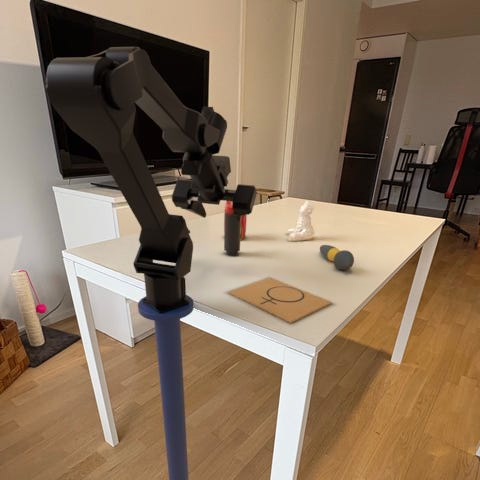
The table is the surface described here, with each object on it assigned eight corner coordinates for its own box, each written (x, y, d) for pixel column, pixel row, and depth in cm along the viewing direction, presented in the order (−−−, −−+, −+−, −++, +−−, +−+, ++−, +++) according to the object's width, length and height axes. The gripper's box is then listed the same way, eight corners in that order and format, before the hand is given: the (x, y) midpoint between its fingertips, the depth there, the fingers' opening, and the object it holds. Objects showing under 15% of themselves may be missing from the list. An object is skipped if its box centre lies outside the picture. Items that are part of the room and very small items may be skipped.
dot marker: (231, 257, 94) (232, 208, 87) (220, 253, 96) (221, 205, 90) (242, 254, 96) (245, 206, 90) (232, 250, 99) (233, 204, 93)
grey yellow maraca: (308, 251, 101) (311, 235, 98) (324, 251, 102) (327, 234, 100) (342, 276, 84) (346, 257, 82) (360, 275, 85) (364, 256, 83)
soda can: (219, 237, 111) (219, 198, 106) (235, 233, 116) (236, 196, 110) (233, 242, 107) (235, 202, 101) (250, 238, 111) (252, 200, 105)
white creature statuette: (287, 233, 119) (291, 197, 113) (312, 235, 118) (317, 199, 112) (288, 241, 110) (292, 202, 105) (315, 242, 110) (320, 204, 104)
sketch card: (290, 323, 62) (291, 321, 62) (228, 293, 73) (228, 291, 73) (331, 303, 70) (331, 301, 70) (269, 279, 81) (270, 277, 81)
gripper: (257, 143, 69) (266, 193, 84) (174, 139, 74) (196, 187, 89) (244, 189, 66) (255, 233, 81) (158, 182, 71) (184, 224, 86)
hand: (222, 218), depth 84 cm, fingers open, 9 cm apart
